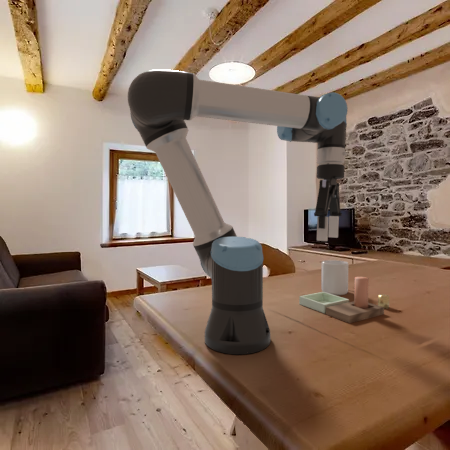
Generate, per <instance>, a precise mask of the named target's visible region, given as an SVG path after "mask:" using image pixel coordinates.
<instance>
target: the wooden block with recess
mask: <svg viewBox="0 0 450 450" xmlns="http://www.w3.org/2000/svg"><path fill="white" fill-rule="evenodd" d="M325 315H327V316H329V317H331V318H335V319H337V320H340V321H343V322H345V323H347V324H352V323H357V322H359V321H364V320H367V319H372V318H374V317H379V316H382V315H385V309H384V307H382V306H378V304H376V303H375V304H374V303H371V302H368V308H367V309H362V308H358V307H355V306H354V300H353V301H349V303H344V304H340V305H335V306H330V307H326V313H325Z"/></svg>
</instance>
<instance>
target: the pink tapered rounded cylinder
mask: <svg viewBox="0 0 450 450" xmlns="http://www.w3.org/2000/svg"><path fill="white" fill-rule="evenodd" d="M353 296H354V300H353V301H354V306H355V307H358V308H362V309H367V308H368V303H369V277H365V276H355V277H354V295H353Z"/></svg>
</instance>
